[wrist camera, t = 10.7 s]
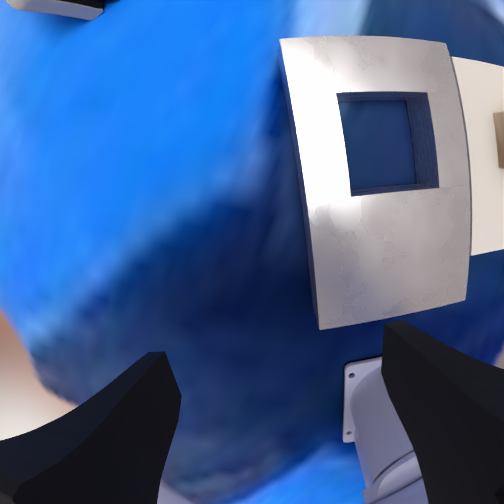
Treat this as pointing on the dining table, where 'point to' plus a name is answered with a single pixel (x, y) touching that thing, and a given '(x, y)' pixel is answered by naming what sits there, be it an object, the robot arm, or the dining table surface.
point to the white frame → (378, 198)
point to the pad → (482, 150)
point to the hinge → (61, 7)
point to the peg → (499, 136)
